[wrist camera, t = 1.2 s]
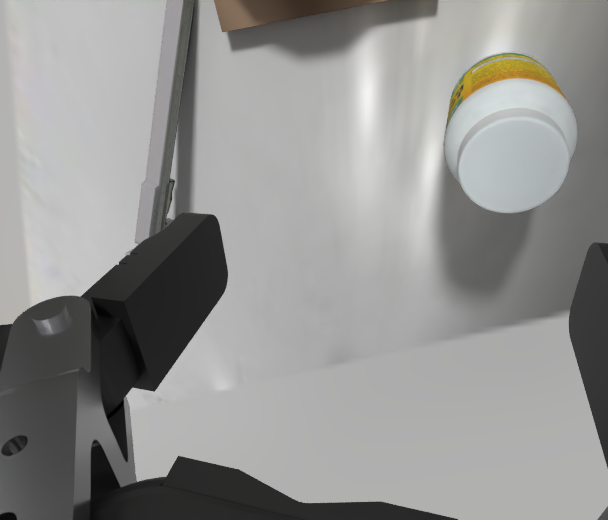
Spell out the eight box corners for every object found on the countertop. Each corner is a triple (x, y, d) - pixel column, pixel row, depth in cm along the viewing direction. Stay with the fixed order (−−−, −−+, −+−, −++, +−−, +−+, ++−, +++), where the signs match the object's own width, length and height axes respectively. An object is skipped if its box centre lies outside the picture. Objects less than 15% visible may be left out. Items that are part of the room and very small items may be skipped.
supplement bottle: (551, 144, 26) (583, 228, 18) (451, 153, 28) (443, 232, 20) (559, 40, 23) (600, 89, 16) (447, 57, 25) (436, 109, 18)
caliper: (181, 244, 39) (137, 290, 34) (169, 239, 39) (123, 284, 34) (199, -48, 26) (134, -45, 21) (182, -54, 26) (112, -52, 21)
